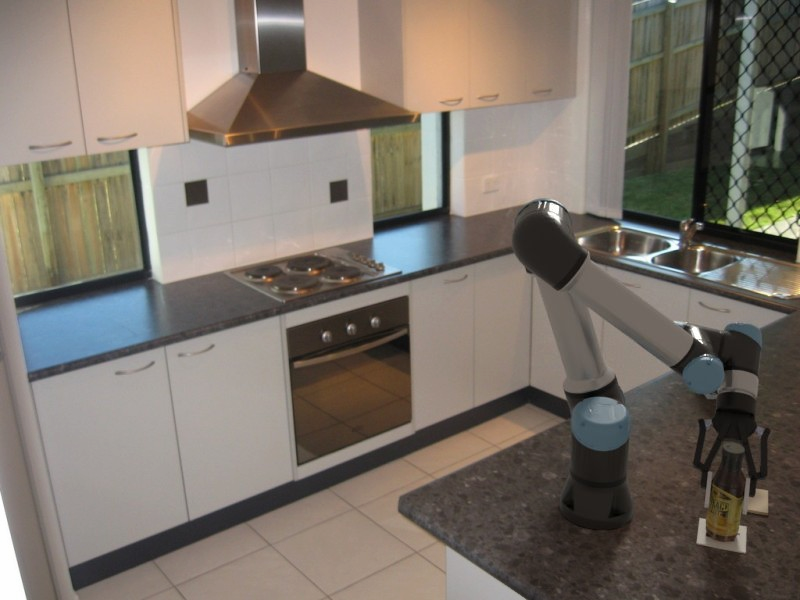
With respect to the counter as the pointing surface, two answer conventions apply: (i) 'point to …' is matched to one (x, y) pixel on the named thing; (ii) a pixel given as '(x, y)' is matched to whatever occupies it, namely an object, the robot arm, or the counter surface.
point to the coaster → (758, 502)
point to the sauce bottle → (726, 495)
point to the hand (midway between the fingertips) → (725, 509)
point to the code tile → (732, 545)
